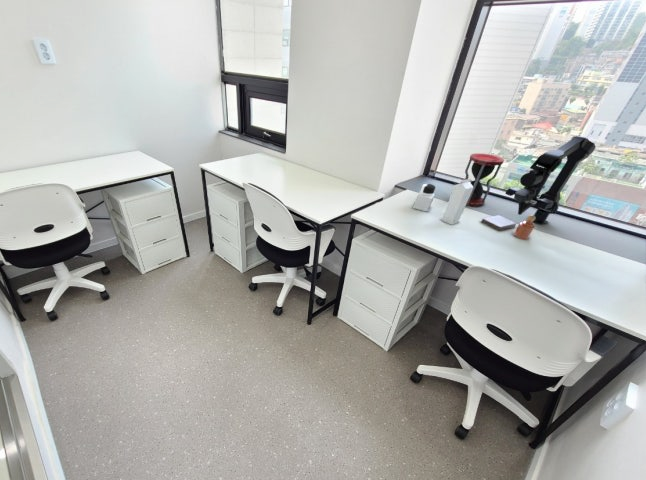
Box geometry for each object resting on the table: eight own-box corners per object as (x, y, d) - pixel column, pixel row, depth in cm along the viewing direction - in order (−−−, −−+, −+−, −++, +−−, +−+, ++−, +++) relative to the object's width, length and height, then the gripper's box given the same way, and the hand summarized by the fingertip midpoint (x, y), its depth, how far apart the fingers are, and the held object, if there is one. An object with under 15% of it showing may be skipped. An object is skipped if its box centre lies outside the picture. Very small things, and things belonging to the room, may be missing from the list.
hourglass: (451, 201, 181) (468, 157, 165) (456, 193, 191) (473, 151, 176) (481, 209, 174) (503, 164, 158) (485, 200, 184) (505, 156, 169)
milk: (458, 222, 160) (476, 180, 146) (450, 224, 157) (469, 182, 144) (448, 217, 164) (465, 176, 150) (440, 219, 162) (457, 178, 148)
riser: (496, 218, 165) (498, 215, 163) (514, 227, 157) (516, 223, 156) (480, 222, 161) (482, 218, 159) (498, 230, 154) (500, 227, 152)
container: (430, 207, 174) (438, 184, 166) (427, 211, 169) (435, 188, 161) (416, 203, 177) (423, 181, 169) (412, 208, 172) (420, 185, 164)
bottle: (518, 237, 154) (537, 238, 146) (510, 239, 152) (529, 240, 144) (519, 214, 151) (539, 214, 143) (511, 216, 149) (530, 216, 141)
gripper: (505, 177, 143) (490, 209, 153) (546, 192, 130) (527, 225, 139) (521, 175, 147) (505, 205, 156) (563, 189, 133) (543, 222, 143)
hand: (519, 214), depth 149 cm, fingers closed
